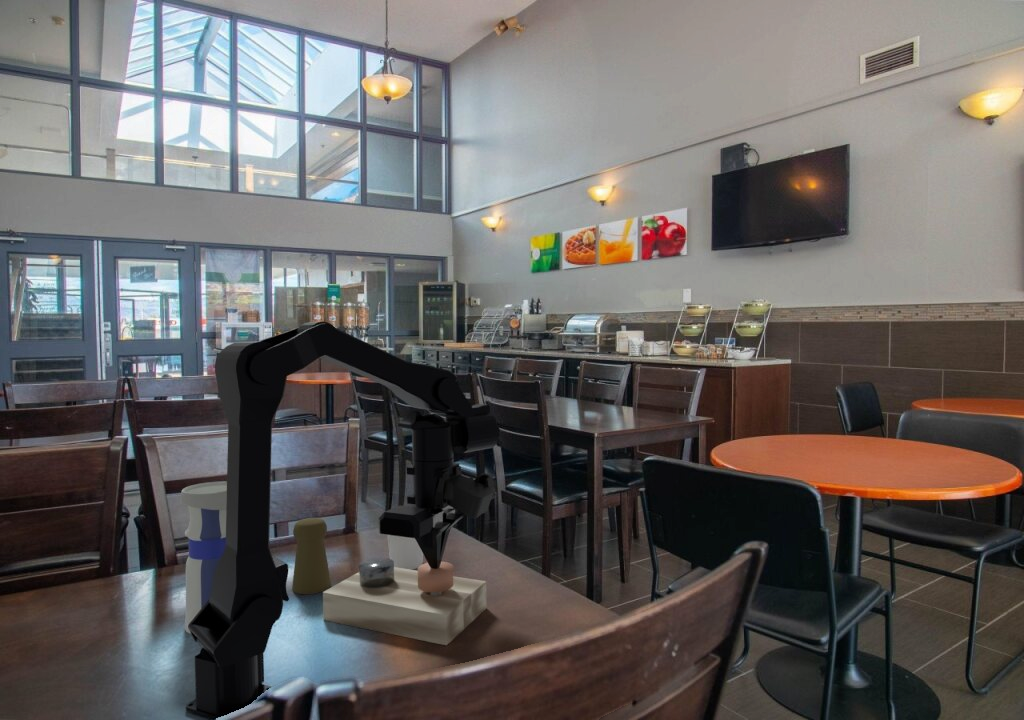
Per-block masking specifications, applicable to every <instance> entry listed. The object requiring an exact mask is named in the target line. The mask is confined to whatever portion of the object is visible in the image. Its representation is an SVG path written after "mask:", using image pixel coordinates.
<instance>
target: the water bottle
mask: <svg viewBox="0 0 1024 720" xmlns="http://www.w3.org/2000/svg"><path fill="white" fill-rule="evenodd" d="M179 504H180V505H182V506H186V507H187V510H188V514H189V515H188V516H189V523H188V526H187V528H186V530H185V531H184V535H185V537H187V538H188V541H187V542H188V557H187V559H186V563H185V616H184V618H185V621H184V631H185V632H186V633H188V634H190V635H191V633H190V631H189V629H188V625H189V623H190V622H191V621H192V620H193V619H194V617H195V616H196V615H197V614H198V612H199V611H200V610H201V609H202V607H203V606H204V605H205V604H206V603H207V601H208V600H209V599H210V593H211V588H212V583H213V578H214V573H215V569H216V567H217V565H218V563H219V560H220V558H221V556H222V554H223V552H224V549H225V544H226V504H227V480H226V481H224V480H223V481H210V482H202V483H197V484H192V485H188V486H186V487H184V488H182V490H181V493H180V496H179Z"/></svg>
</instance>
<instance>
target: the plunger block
mask: <svg viewBox="0 0 1024 720" xmlns="http://www.w3.org/2000/svg"><path fill="white" fill-rule="evenodd" d="M487 605H488V604H487V581H486V580H479V579H474V578H467V577H461V576H455V575H453V587H451V588H450V589H448V590H445V591H442V594H441V595H440V596H434V595H430V592H425V591H422V590H420V589H419V588H418V570H417V569H412V570H410V569H403V568H397V567H394V581H393V582H392V583H390V584H388V585H385V586H380V587H366V586H363V585H361V584H360V574H359V571H358V572H357V573H354V574H352V575H350V576H349V577H347V578H346V579H343V580H342V581H341V582H339V583H337V584H335V585H333V586H332V587H331V586H330V587H329V588H328V589H326V590H324V591H322V610H323V613H322V614H323V616H322V617H323V619H322V620H323V621H328V622H331V623H336V624H341V625H347V626H351V627H354V628H355V627H356V628H361V629H366V630H370V631H375V632H379V633H385V634H390V635H395V636H399V637H405V638H409V639H414V640H418V641H419V640H420V641H424V642H427V643H433V644H438V645H442V646H448V644H450V643H451V642H452V641H453V640H454V639H455V638H456V637H457V636H458V635H460V634H461V633H462V632H463V631H464V630H465V629H466V628H467V627H468V626H469V625H470V624H471V623H473V622H474V621H475V620H476V619H477V618H478V617H479V616H480V615H481V614H482V613H483V612H484V611H486V609H487Z"/></svg>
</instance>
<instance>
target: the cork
mask: <svg viewBox="0 0 1024 720" xmlns="http://www.w3.org/2000/svg"><path fill="white" fill-rule="evenodd" d="M327 526H328V525H327V522H326V521H325V519H323V518H320V517H307V518H303V519H302V518H301V519H300V520H298V521H297V522H295V524H294V525H293V529H292V530H293V531H292V533H293V534H292V535H293V538H294V539H295V541H296V548H295V550H296V551H295V560H294V567H293V576H292V577H293V579H292V586H291V590H292V592H293V593H295V594H300V595H311V594H312V595H313V594H316V593H320V592H321V593H322V592H324V591H326V590H328V589H330V588H331V585H332V583H331V577H330V570H329V563H328V557H327V551H326V547H325V546H326V545H325V537H326V536H327V532H328V531H327V530H328V527H327Z"/></svg>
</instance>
